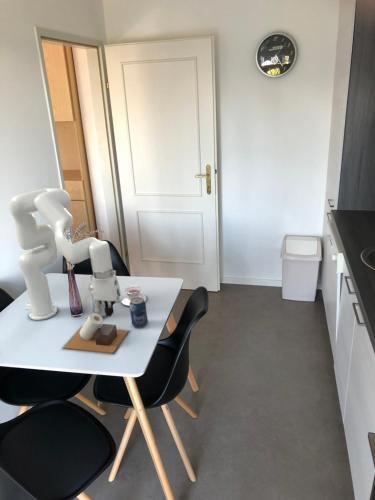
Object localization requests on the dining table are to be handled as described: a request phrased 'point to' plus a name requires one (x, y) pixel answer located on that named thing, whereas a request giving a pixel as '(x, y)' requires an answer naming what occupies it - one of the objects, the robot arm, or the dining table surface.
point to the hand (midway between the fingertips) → (109, 314)
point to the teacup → (132, 294)
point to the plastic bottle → (96, 303)
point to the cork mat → (94, 343)
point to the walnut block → (105, 334)
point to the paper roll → (91, 326)
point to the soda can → (138, 312)
